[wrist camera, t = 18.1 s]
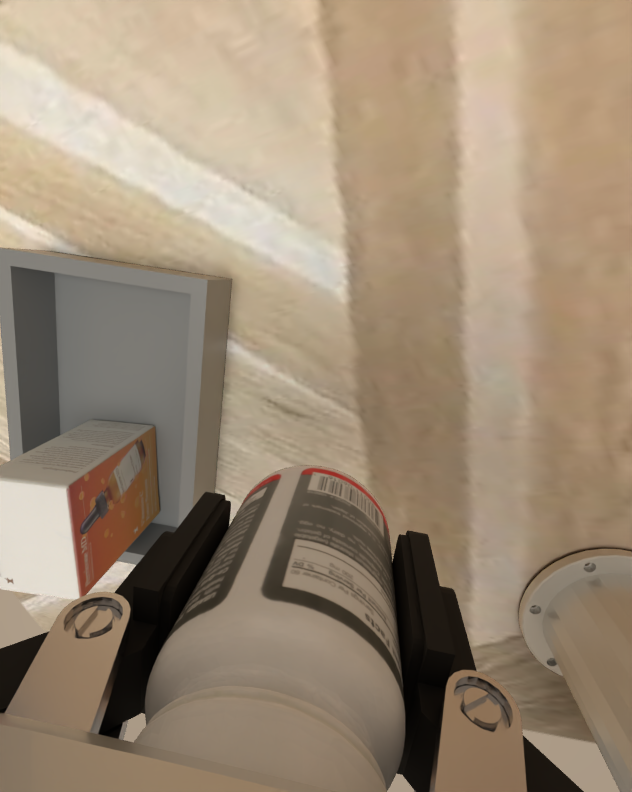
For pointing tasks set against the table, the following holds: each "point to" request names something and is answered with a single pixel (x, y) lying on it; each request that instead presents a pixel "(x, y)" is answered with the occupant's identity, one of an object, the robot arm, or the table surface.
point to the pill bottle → (290, 642)
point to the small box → (75, 507)
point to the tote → (117, 363)
